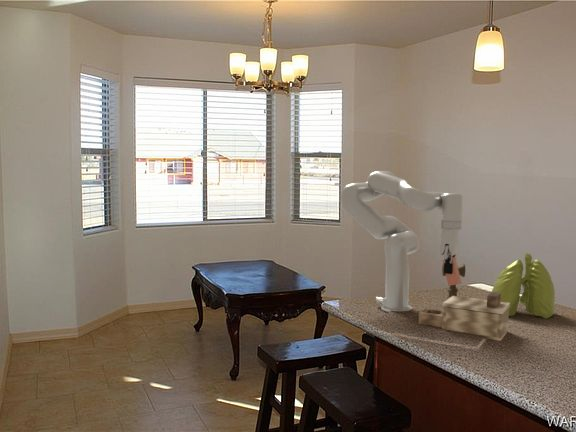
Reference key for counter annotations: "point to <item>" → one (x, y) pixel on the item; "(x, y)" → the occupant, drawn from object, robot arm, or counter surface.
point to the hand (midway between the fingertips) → (449, 272)
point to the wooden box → (467, 321)
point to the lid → (479, 303)
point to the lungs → (527, 287)
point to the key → (453, 274)
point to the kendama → (452, 288)
